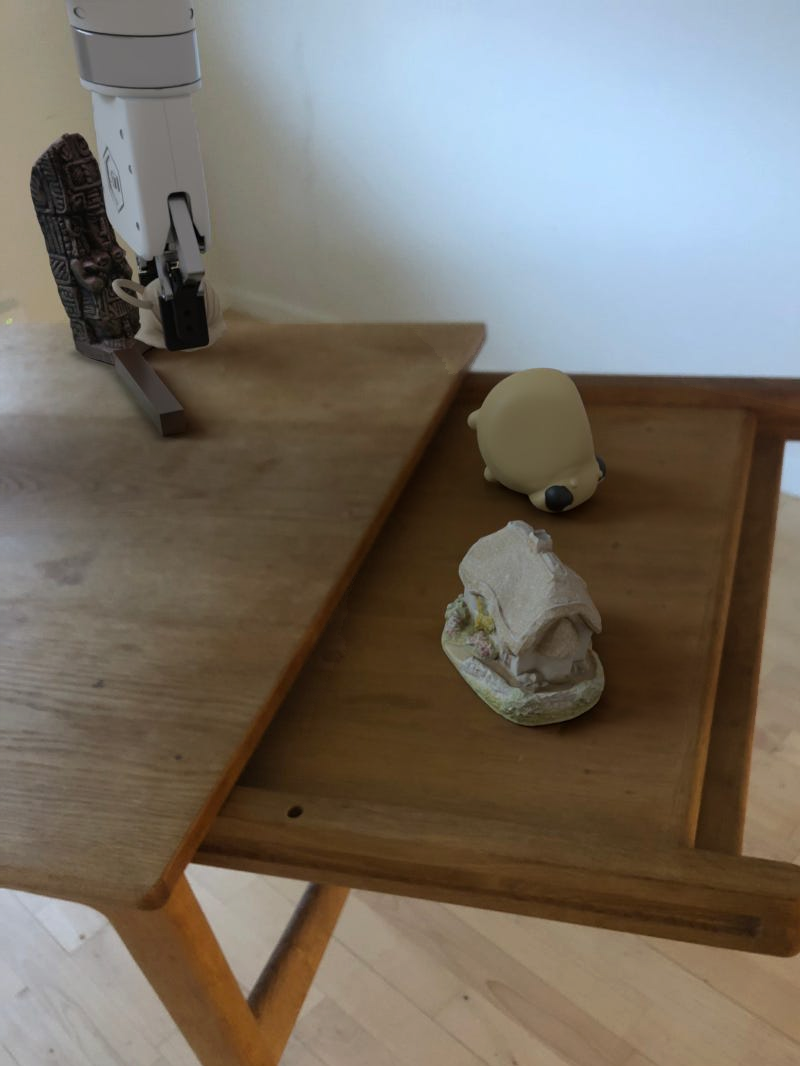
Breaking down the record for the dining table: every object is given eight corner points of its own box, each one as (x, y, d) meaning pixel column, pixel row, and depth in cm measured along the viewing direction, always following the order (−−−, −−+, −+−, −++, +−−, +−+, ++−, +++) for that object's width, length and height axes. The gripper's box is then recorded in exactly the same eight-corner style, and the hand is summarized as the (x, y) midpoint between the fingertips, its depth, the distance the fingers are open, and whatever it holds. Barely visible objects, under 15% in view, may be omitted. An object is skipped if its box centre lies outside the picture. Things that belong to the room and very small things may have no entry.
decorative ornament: (238, 343, 74) (232, 274, 70) (129, 361, 70) (116, 289, 67) (220, 324, 76) (213, 255, 73) (114, 340, 73) (101, 269, 69)
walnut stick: (163, 436, 85) (159, 414, 84) (116, 371, 94) (112, 350, 92) (187, 431, 86) (184, 409, 85) (138, 368, 95) (135, 346, 93)
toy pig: (497, 543, 83) (579, 514, 74) (433, 416, 80) (509, 371, 72) (568, 499, 88) (652, 467, 80) (510, 379, 86) (589, 333, 77)
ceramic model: (418, 606, 70) (422, 489, 63) (557, 581, 73) (575, 467, 67) (489, 742, 60) (502, 620, 53) (645, 705, 63) (676, 586, 57)
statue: (122, 369, 94) (81, 148, 81) (62, 353, 96) (12, 134, 83) (163, 343, 99) (131, 131, 86) (105, 329, 101) (64, 118, 88)
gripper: (46, 35, 65) (98, 302, 77) (115, 92, 54) (163, 390, 66) (156, 32, 68) (190, 289, 80) (242, 86, 57) (265, 372, 69)
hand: (177, 332), depth 73 cm, fingers closed on decorative ornament, 4 cm apart
